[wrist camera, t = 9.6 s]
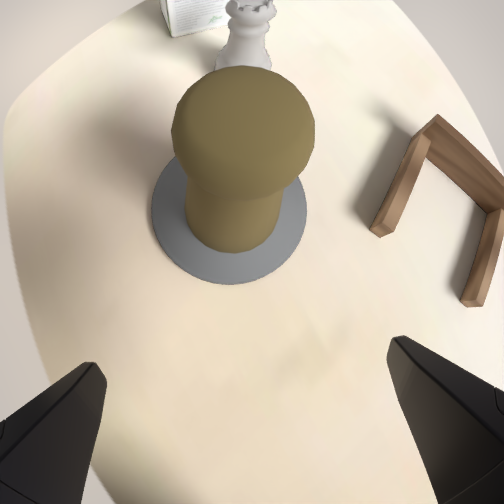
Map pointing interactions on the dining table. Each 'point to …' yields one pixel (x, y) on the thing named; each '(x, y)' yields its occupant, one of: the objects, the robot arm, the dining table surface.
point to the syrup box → (194, 15)
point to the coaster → (211, 261)
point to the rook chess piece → (247, 34)
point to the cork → (240, 153)
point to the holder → (468, 179)
